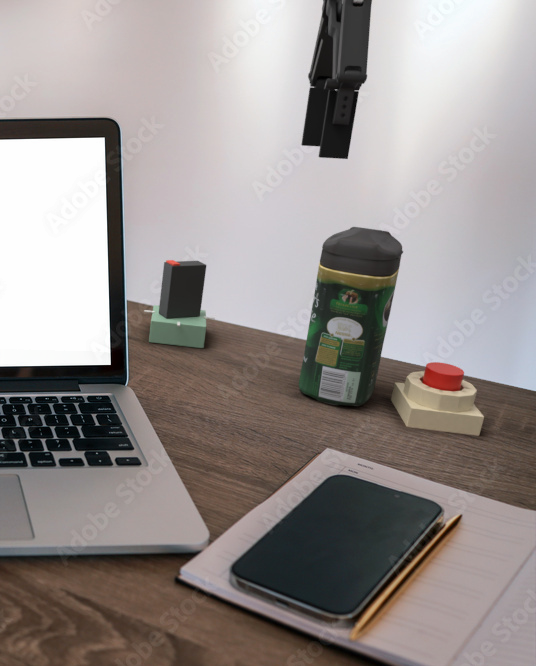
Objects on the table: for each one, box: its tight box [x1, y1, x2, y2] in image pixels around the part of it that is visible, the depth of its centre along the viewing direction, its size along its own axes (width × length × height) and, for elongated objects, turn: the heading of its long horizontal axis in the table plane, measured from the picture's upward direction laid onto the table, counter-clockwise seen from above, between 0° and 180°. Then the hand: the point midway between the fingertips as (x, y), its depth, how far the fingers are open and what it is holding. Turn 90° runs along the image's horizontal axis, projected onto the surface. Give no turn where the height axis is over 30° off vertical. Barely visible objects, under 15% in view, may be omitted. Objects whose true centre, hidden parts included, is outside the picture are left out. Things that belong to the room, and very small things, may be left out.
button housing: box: [390, 370, 485, 437], centre depth 82 cm, size 7×7×4 cm
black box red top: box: [158, 259, 207, 318], centre depth 101 cm, size 5×2×7 cm, turn 109°
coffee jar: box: [298, 226, 404, 407], centre depth 85 cm, size 10×8×19 cm
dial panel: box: [143, 304, 216, 349], centre depth 102 cm, size 9×9×3 cm
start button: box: [422, 361, 465, 392], centre depth 81 cm, size 4×4×2 cm
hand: (322, 151), depth 85 cm, fingers open, 13 cm apart
